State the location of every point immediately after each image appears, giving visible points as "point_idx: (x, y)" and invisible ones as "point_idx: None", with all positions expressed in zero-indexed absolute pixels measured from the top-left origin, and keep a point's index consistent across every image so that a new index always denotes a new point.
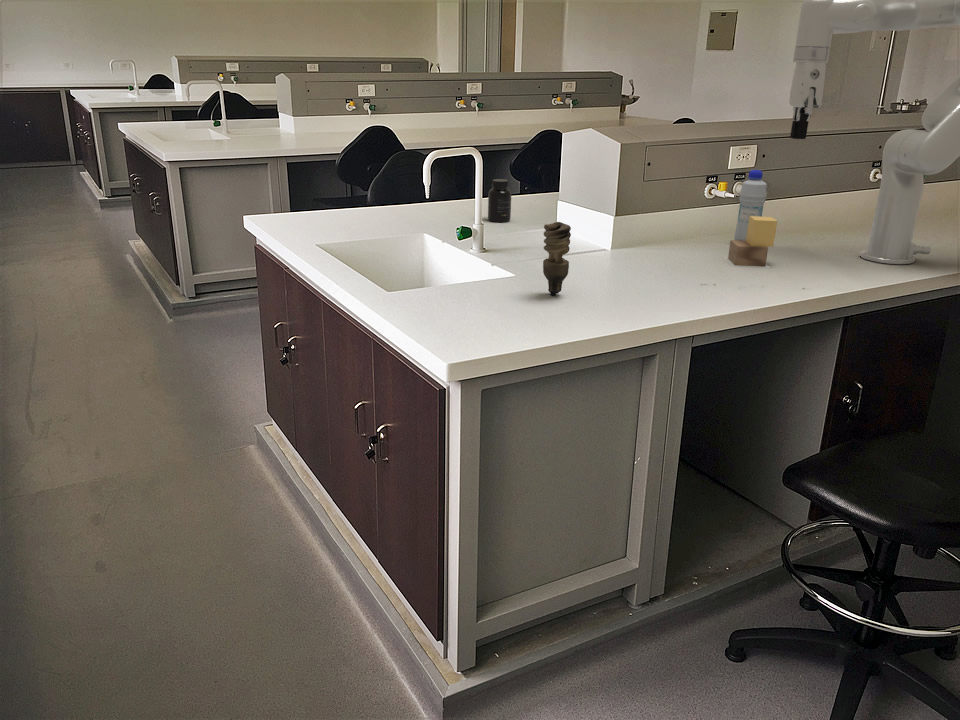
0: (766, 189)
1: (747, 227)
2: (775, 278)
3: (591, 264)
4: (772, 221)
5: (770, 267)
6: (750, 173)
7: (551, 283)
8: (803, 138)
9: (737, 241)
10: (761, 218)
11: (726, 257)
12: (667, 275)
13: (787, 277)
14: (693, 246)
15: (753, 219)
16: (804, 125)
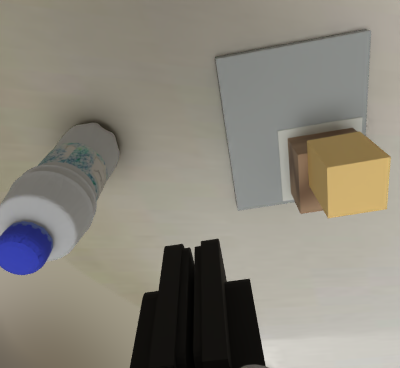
0: (40, 184)
1: (110, 169)
2: (395, 105)
3: (334, 353)
4: (389, 168)
5: (359, 117)
6: (38, 269)
7: None
8: (220, 250)
9: (314, 201)
10: (357, 193)
11: (283, 195)
12: (390, 271)
13: (384, 79)
14: (147, 239)
15: (369, 211)
16: (261, 348)
